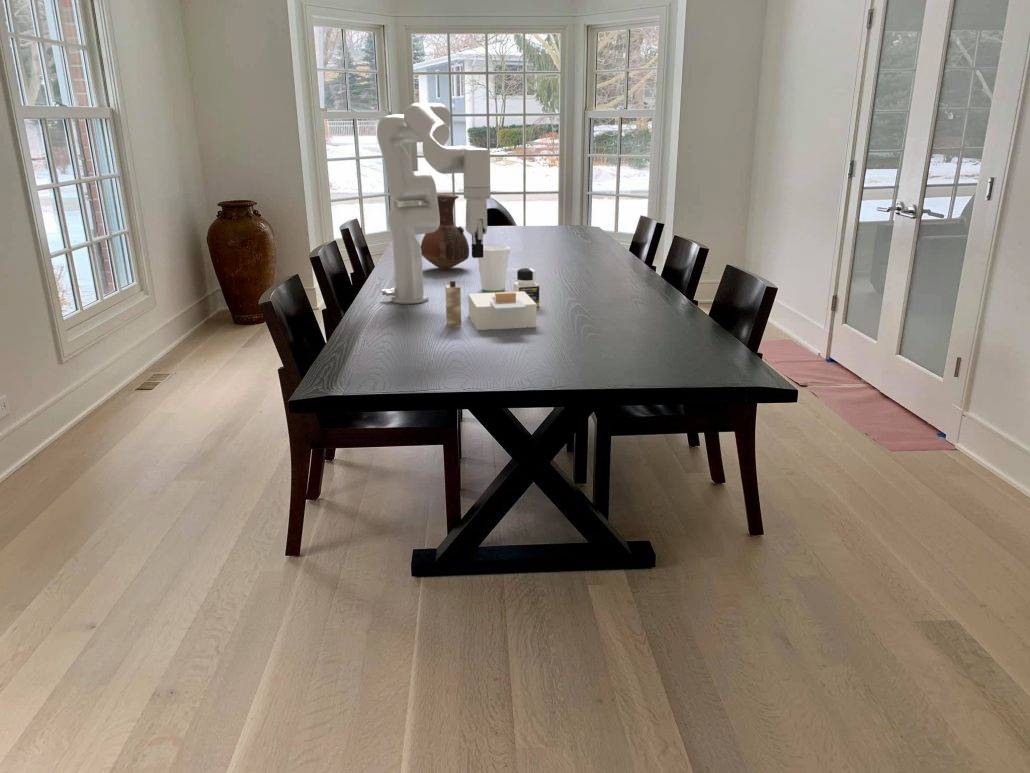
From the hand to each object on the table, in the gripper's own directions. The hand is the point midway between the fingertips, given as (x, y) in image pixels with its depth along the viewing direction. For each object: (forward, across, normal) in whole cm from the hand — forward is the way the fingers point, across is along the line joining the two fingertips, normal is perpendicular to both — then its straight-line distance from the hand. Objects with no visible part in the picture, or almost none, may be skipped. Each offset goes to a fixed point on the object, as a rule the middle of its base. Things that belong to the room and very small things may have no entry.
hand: (477, 257), depth 221 cm
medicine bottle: (+21, -22, +20) cm, 37 cm away
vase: (+22, -90, +2) cm, 92 cm away
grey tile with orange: (+13, +8, +7) cm, 17 cm away
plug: (+21, -1, -7) cm, 22 cm away
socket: (+20, -3, +8) cm, 22 cm away
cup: (+21, -47, +14) cm, 54 cm away
